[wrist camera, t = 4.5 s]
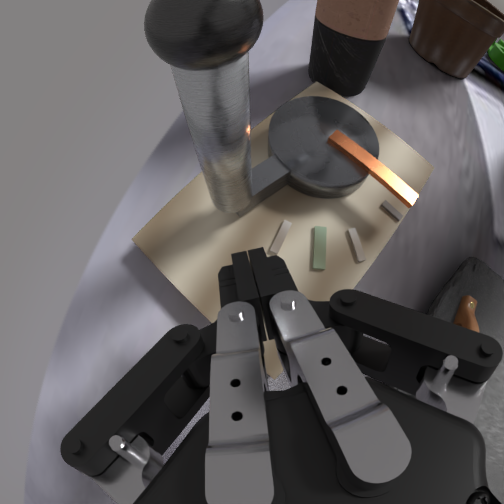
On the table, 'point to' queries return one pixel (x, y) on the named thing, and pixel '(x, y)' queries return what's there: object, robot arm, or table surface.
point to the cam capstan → (238, 113)
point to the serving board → (489, 323)
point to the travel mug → (348, 42)
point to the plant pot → (455, 33)
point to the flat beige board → (283, 228)
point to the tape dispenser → (497, 53)
